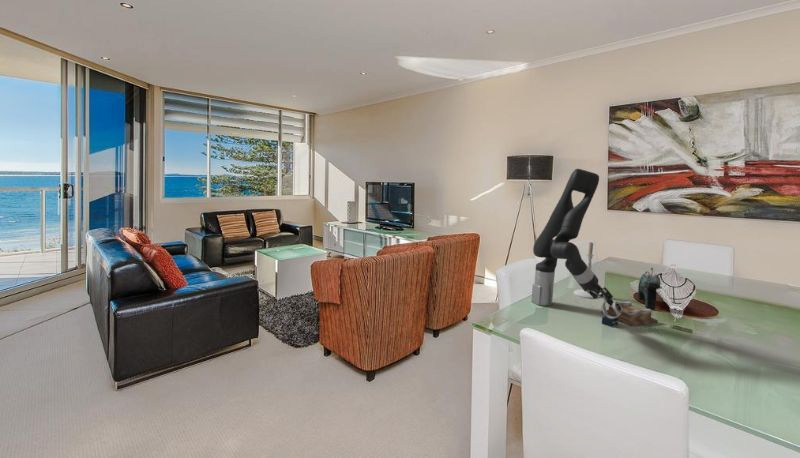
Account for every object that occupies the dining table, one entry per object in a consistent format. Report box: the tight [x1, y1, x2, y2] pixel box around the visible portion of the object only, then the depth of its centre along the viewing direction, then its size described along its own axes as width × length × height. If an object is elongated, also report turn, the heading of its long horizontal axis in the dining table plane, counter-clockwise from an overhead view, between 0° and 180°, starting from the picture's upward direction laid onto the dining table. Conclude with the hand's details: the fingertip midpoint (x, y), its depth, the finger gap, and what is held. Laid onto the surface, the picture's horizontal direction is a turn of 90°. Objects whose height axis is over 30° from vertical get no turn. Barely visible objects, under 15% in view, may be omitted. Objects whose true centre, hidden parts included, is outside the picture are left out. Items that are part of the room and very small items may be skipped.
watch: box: [601, 299, 622, 328], centre depth 167 cm, size 6×8×11 cm
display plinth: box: [600, 301, 659, 327], centre depth 176 cm, size 16×16×6 cm
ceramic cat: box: [637, 267, 661, 311], centre depth 194 cm, size 20×6×20 cm, turn 161°
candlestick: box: [573, 241, 600, 300], centre depth 207 cm, size 13×13×30 cm
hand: (603, 300), depth 165 cm, fingers open, 8 cm apart
